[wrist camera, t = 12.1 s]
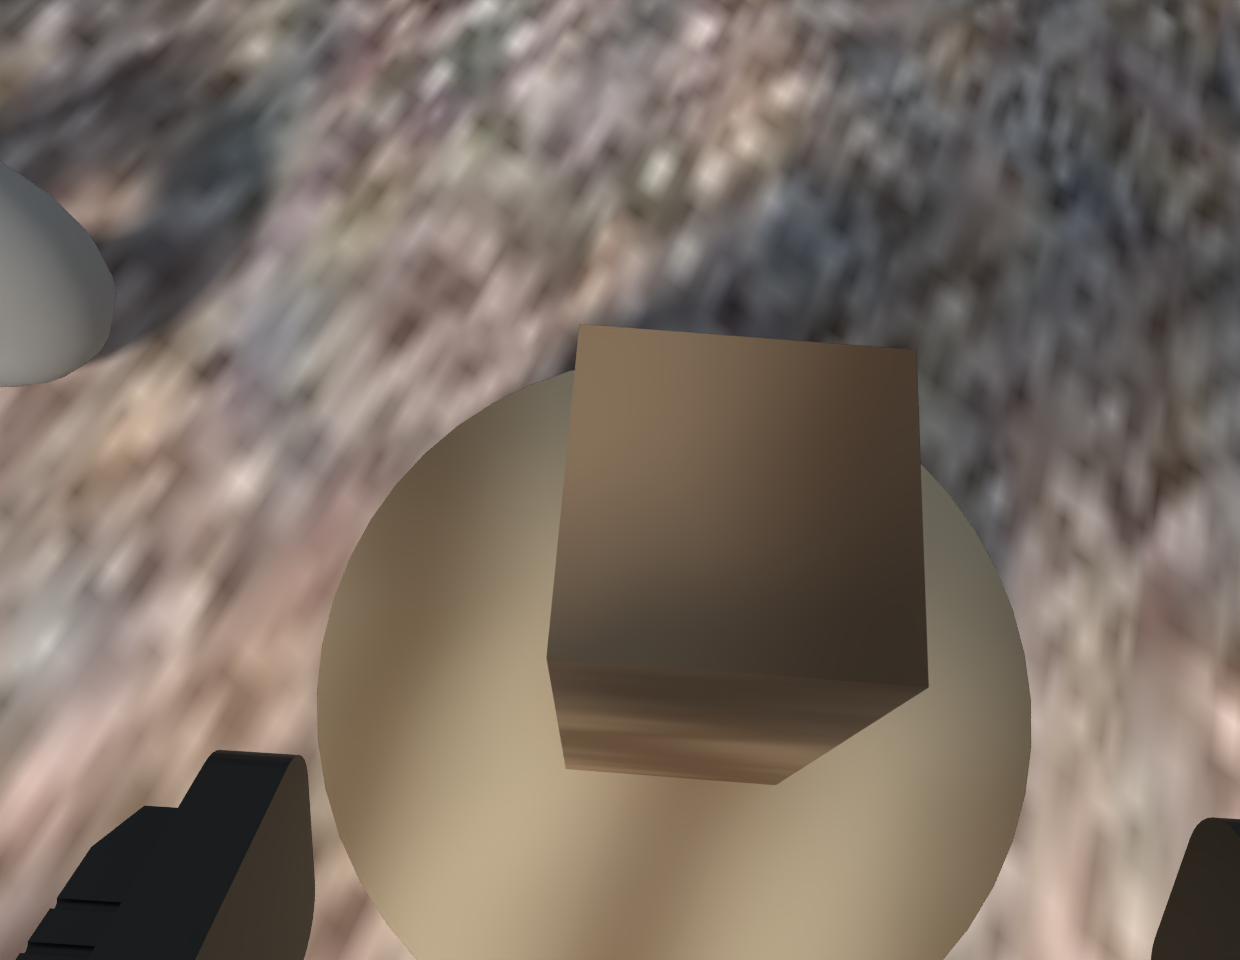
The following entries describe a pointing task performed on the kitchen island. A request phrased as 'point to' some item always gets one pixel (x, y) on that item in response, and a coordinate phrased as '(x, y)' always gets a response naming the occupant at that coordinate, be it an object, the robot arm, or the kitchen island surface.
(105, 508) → the kitchen island surface
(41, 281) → the donut
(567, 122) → the kitchen island surface
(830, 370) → the lid
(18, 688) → the kitchen island surface
